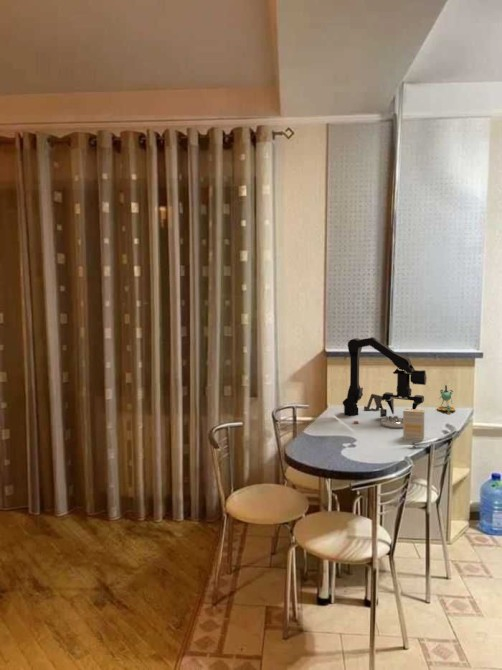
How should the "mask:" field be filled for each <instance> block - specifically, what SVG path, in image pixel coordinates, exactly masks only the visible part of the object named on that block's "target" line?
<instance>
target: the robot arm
mask: <svg viewBox="0 0 502 670" xmlns="http://www.w3.org/2000/svg"><path fill="white" fill-rule="evenodd" d="M369 346H370V347H371V348H373V349H375V350H376V351H378V352H379V353H380V354H382V355H383V356H385V357H386V358H388V359H389V360H390V361H391V362H392V363H393V365H394V366H396V369H395V370H394V371H393V372H392V373H393V374H394V375H396V376H397V378H396V383H397V384H396V394H394V392H389V391H387V392H384V393H383V394H382V395H381V396H382V399H383V400H384V401H385V403H387V406H388V407H389V409H390V411H391V414H392V415H394V414H395V407H394V406H395V405H394V399H395V400H404V401H413V402H412V408H411V409H417V407H418V406H419V405H421V404H423V403H425V397H424V395H421V394H415V395H414V396H412V392H413V391H412V388H411V385H410V382H411V383H412V385H422V386H426V385H427V372H426V370H425V369H423V370H422V369H421V370H419V369H418V370H417V369H416V370H415V367H414V366H413V365H412V363H411V361H412V360H411V359H410V358H409V357H407V356H405V355H404V354H401V353H397V352H396V351H394V350H393V349H391V348H390V347H388V346H386V344H384V343H382V342H381V341H379V340H378V339H377V338H376V337H374V336H371V337H368V338H362V339H360V338H358V337H357V338H356V337H354V338H352V339H350V340H349V341H347V349H348V354H349V356H350V371H349V372H350V375H349V378H350V382H349V387H348V391H347V396H346V397H345V399H344V400H343V401H342V405H343V415H344V416H348V417H355V416H359V406H358V403H359V401H361V399H362V397H364V393H363V390H364V387H361V386H360V357H361V353H362V348H364V347H365V348H366V347H369ZM383 400H382V401H383Z"/></svg>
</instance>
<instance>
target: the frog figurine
mask: <svg viewBox="0 0 502 670" xmlns="http://www.w3.org/2000/svg"><path fill="white" fill-rule="evenodd" d="M453 393H454V391H453V390H452V389H450V390H448V385H447V384H445V385H444V389H440V395H441V396H440V397H439V398H438V400H440V399H441V400H442V401H441V402H442V403H441V404H440V406H437V407H436V410H438V411H444V412H445V411H446V412H445V414H447V415H451V414H452V411H456V409H457V408H455V407H453V406H449V404H447V405H446V406H445V405H444V406H443V404H444V402H449V401H450V400H451V401H450V402H451V405H453V399H452V395H453Z"/></svg>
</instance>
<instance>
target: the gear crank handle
mask: <svg viewBox="0 0 502 670" xmlns="http://www.w3.org/2000/svg"><path fill="white" fill-rule="evenodd" d="M379 410H380V412H379V415H380V416H379V417H381V419H380V425H381V426H382V427H384V428H388V429H397V430H399V429H403V417H402V418H399V416H398V415H393V417H392V416H391V415H388V416H387V412H388V411H387V409H385V408H383V409H381V408H379Z"/></svg>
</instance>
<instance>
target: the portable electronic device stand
mask: <svg viewBox="0 0 502 670" xmlns="http://www.w3.org/2000/svg"><path fill="white" fill-rule="evenodd" d="M382 396H383V395H378V394H374V393H371V394H370V397H369V400H368V402H367V406H366V405H364V407H363V410H364V411H367V412H378V411H379V410H380V409H384V407H383V404H382V401H385V400H383V399H382ZM372 401H374V403H375V406H376V407H375V408H373V407H371V405H372ZM370 407H371V408H370Z"/></svg>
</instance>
